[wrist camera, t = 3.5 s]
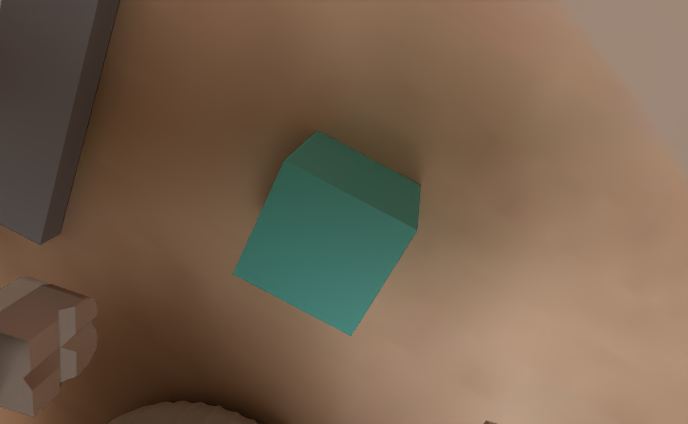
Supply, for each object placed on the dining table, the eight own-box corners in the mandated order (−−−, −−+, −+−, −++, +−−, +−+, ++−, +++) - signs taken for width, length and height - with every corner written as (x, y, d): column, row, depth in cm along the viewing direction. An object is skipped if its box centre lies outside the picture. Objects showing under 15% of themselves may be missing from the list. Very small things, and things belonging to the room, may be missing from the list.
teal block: (367, 272, 20) (351, 336, 16) (273, 223, 20) (232, 274, 16) (420, 184, 18) (417, 230, 14) (317, 130, 18) (284, 159, 14)
